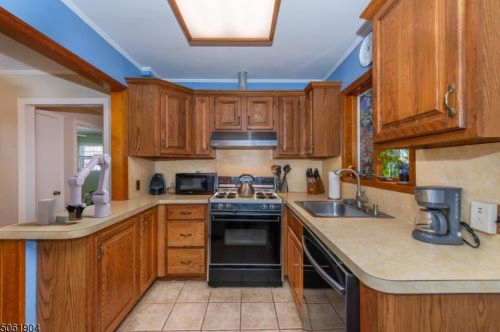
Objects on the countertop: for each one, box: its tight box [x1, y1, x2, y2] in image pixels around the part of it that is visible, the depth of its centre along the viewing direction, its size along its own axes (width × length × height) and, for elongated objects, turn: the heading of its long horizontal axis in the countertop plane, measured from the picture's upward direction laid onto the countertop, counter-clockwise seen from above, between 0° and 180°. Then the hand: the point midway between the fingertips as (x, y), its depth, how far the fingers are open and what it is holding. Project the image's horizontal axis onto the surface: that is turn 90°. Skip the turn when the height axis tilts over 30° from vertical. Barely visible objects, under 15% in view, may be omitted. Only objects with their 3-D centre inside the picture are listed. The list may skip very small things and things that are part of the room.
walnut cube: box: [67, 210, 83, 222], centre depth 151 cm, size 5×5×5 cm
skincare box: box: [37, 198, 58, 226], centre depth 149 cm, size 8×6×15 cm
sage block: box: [55, 212, 71, 223], centre depth 158 cm, size 10×10×4 cm
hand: (75, 217), depth 151 cm, fingers closed on walnut cube, 5 cm apart
